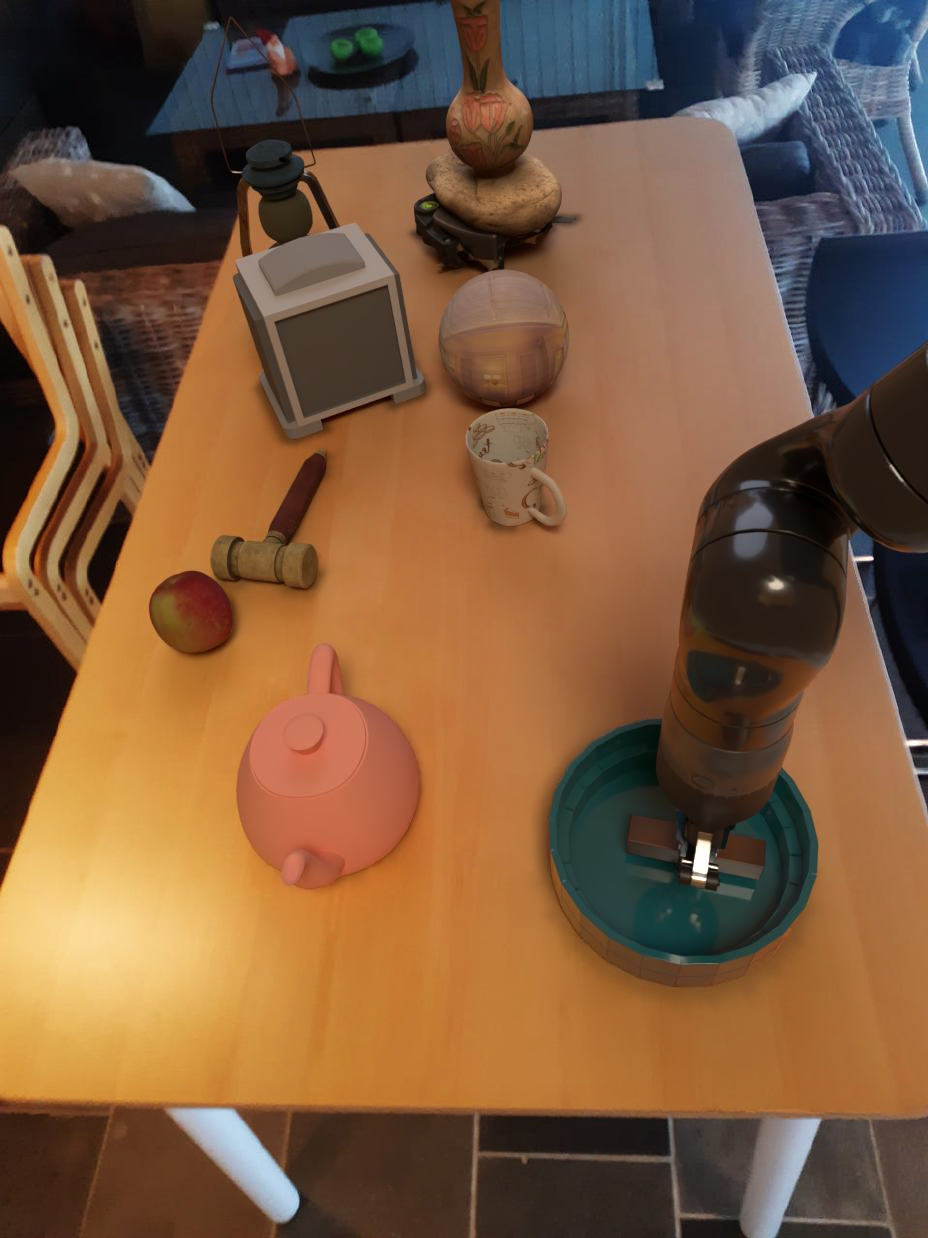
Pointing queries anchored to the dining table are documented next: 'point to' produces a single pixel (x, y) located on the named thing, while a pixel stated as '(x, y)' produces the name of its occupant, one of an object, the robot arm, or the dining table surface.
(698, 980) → the bowl
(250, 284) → the alarm clock
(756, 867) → the stick
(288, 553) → the gavel
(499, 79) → the vase
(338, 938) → the dining table surface
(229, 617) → the apple
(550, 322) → the ornament
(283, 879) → the teapot
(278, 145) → the lantern
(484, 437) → the mug
